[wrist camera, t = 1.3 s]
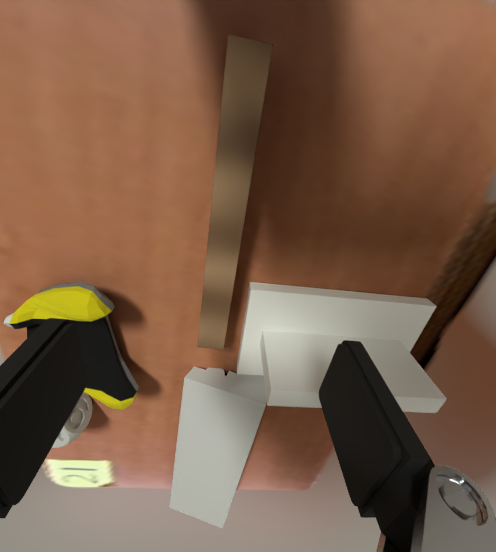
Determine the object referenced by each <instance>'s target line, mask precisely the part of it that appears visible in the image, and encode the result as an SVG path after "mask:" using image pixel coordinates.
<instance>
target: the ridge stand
mask: <svg viewBox="0 0 496 552" xmlns="http://www.w3.org/2000/svg"><path fill="white" fill-rule="evenodd" d="M436 307H437V306H436V305H434V304H433V303H432V302H431V301H430V300H429V299H427V298H417V297H406V296H395V295H385V294H374V293H363V292H353V291H342V290H331V289H321V288H310V287H300V286H289V285H278V284H268V283H257V282H250V285H249V291H248V297H247V304H246V310H245V316H244V322H243V329H242V335H241V341H240V348H239V354H238V360H237V374H244V375H262V376H264V383H265V391H266V400H267V406H287V407H310V408H322V406H321V403H320V400H319V389H320V386H321V384H322V382H323V379H324V377H325V374H326V372H327V370H328V367H329V365H330V362H331V360H332V357H333V355H334V353H335V350H336V348H337V346H338V344H341V343H342V342H343V341H344V340H349V341H360V342H361V343H362V344H363V346H364V347H365V349H366V351H367V352H368V354H369V356H370V357H371V359H372V361H373V362H374V364H375V366H376V367H377V369H378V371H379V372H380V374H381V376H382V378H383V379H384V381H385V383H386V384H387V386H388V388H389V389H390V391H391V393H392V394H393V396H394V398H395V399H396V401H397V403H398V404H399V406H400V408H401V409H402V411H403V412H424V413H437V411H438V410H439V409H440V407H441V406H442V405H443V403H444V402H445V401H446V397H445V396H444V395H443V394H442V392H441V391H440V390H439V389H438V388H437V386H436V385H435V384H434V383H433V381H432V380H431V379H430V377H429V376H428V375H427V374H426V372H425V371H424V370H423V369H422V367H421V366H420V365H419V364H418V362H417V361H416V360H415V359H414V357H413V356H412V355H411V354H410V351H411V349H412V348H413V346H414V344H415V343H416V341H417V339H418V337H419V336H420V334H421V332H422V331H423V329H424V327H425V325H426V324H427V322H428V320H429V319H430V317H431V315H432V313H433V312H434V310H435V308H436Z"/></svg>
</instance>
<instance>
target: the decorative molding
mask: <svg viewBox="0 0 496 552" xmlns="http://www.w3.org/2000/svg"><path fill="white" fill-rule="evenodd" d="M266 403H267V400H266V391H265V383H264V376H262V375H244V374H236V373H233V372H231V371H229V372H228V374H227V376H225V372H224V370H223V369H218V368H207V369H206V370H205V369H201V368H198V367H195V366H194V367H193V368H192V370H191V371H190V372H189V373H188V374H187V375H186V376H185V377H184V386H183V395H182V403H181V412H180V420H179V429H178V438H177V446H176V455H175V464H174V472H173V481H172V490H171V499H170V508H172V509H174V510H177V511H179V512H182V513H185V514H187V515H190V516H192V517H195V518H197V519H200V520H202V521H205V522H207V523H210V524H212V525H215V526H217V527H220V528H223V525H224V522H225V519H226V517H227V514H228V511H229V508H230V505H231V502H232V500H233V497H234V494H235V491H236V488H237V486H238V483H239V480H240V477H241V474H242V471H243V469H244V466H245V463H246V460H247V457H248V455H249V452H250V449H251V446H252V443H253V440H254V438H255V435H256V432H257V429H258V426H259V424H260V421H261V418H262V415H263V412H264V409H265V407H266Z"/></svg>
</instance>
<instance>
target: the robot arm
mask: <svg viewBox="0 0 496 552" xmlns="http://www.w3.org/2000/svg"><path fill="white" fill-rule="evenodd" d="M87 383H88V374H87V370H86V366H85V362H84V357H83V353H82V349H81V344H80V340H79V336H78V332H77V327H76V325H75V324H72V323H71V321H70V320H69V319H58V318H48V319H47V320H45V321H44V322H43V323H42V324H41V325H40V326H39V327H38V328H37V329H36V330H35V331H34V332H33V333H32V334H31V335H30V336H29V337H28V338H27V339H26V340H25V341H24V342H23V343H22V344H21V346H20V347H19V348H18V349H17V350H16V351H15V352H14V353H13V354H12V355H11V356H10V357H9V358H8V359H7V360H6V361H5V362H4V363H3V364H2V365H1V366H0V518H5V517H6V515H7V514H8V512H9V510H10V509H11V507H12V505H16V504H17V503H19V502H20V500H21V499H22V498H23V496H24V495H25V493H26V491H27V489H28V488H29V486H30V484H31V482H32V481H33V479H34V477H35V476H36V474H37V472H38V470H39V468H40V467H41V465H42V463H43V462H44V460H45V458H46V456H47V455H48V453H49V451H50V449H51V448H52V446H53V444H54V442H55V441H56V439H57V437H58V435H59V434H60V432H61V430H62V428H63V427H64V425H65V423H66V421H67V420H68V418H69V416H70V415H71V413H72V411H73V409H74V408H75V406H76V404H77V402H78V401H79V399H80V397H81V395H82V394H83V392H84V390H85V388H86V386H87ZM319 400H320V403H321V406H322V409H323V413H324V416H325V419H326V422H327V425H328V428H329V432H330V435H331V438H332V441H333V444H334V448H335V451H336V454H337V457H338V460H339V463H340V467H341V470H342V473H343V476H344V479H345V483H346V486H347V489H348V492H349V495H350V498H351V501H352V503H353V504H354V505H355V506H358V509H359V513H360V516H361V517H376V519H377V522H378V525H379V527H380V530H381V534H380V539H379V543H378V548H377V552H496V518H495V515H494V511H493V508H492V507H491V505H490V503H489V501H488V499H487V498H486V496H485V495H484V493H483V492H482V491H481V489H480V488H479V487H478V486H477V485H476V484H475V483H474V482H473V481H472V480H471V479H469V478H468V477H467V476H465V475H464V474H463V473H462V472H460V471H458V470H456V469H454V468H452V467H449V466H446V465H437V466H435V465H434V463H433V462H432V460H431V458H430V456H429V455H428V453H427V451H426V450H425V448H424V446H423V445H422V443H421V441H420V440H419V438H418V436H417V435H416V433H415V431H414V430H413V428H412V426H411V425H410V423H409V421H408V419H407V418H406V416H405V414H404V413H403V411H402V409H401V408H400V406H399V404H398V403H397V401H396V399H395V398H394V396H393V394H392V393H391V391H390V389H389V388H388V386H387V384H386V383H385V381H384V379H383V378H382V376H381V374H380V372H379V371H378V369H377V367H376V366H375V364H374V362H373V361H372V359H371V357H370V356H369V354H368V352H367V351H366V349H365V347H364V346H363V344H362V343H361V342H360V341H349V340H344V341H343V342H342V343H341V344H338V346H337V348H336V350H335V353H334V355H333V357H332V360H331V362H330V365H329V367H328V370H327V372H326V374H325V377H324V379H323V382H322V384H321V386H320V389H319Z"/></svg>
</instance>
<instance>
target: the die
mask: <svg viewBox="0 0 496 552" xmlns="http://www.w3.org/2000/svg"><path fill="white" fill-rule="evenodd" d="M92 409H93V408H92V401H91V398H90V397H89V395H88V394H86V393H84V392H83V394H82V395H81V397H80V399H79V401H78V402H77V404H76V406H75V408H74V409H73V411H72V413H71V415H70V416H69V418H68V420H67V421H66V423H65V425H64V427H63V428H62V430H61V432H60V434H59V435H58V437H57V439H56V441H55V442H54V444H53V446H52V448H58V447H62V446H65V445H67V444H69V443H70V442H72V441H73V440H75V439H76V438H77V437H78V436H79V435H80V434H81V433H82V432H83V431H84V430H85V428H86V427H87V425H88V424H89V422H90V419H91V416H92Z"/></svg>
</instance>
